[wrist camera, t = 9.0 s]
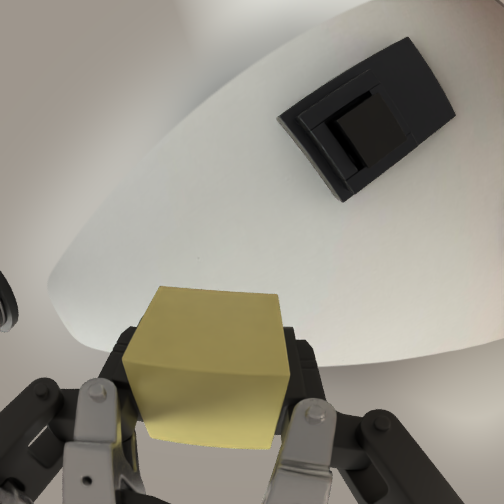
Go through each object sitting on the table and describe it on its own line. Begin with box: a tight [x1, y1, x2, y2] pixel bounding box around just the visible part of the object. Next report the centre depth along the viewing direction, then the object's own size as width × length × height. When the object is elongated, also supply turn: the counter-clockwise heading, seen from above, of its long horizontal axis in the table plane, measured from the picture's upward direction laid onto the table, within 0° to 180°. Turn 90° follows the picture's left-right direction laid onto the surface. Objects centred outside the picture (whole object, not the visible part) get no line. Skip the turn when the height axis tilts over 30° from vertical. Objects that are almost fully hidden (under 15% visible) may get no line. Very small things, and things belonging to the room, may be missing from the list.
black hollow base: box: [276, 37, 456, 202], centre depth 17 cm, size 14×8×4 cm, turn 129°
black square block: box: [328, 93, 407, 168], centre depth 16 cm, size 4×4×2 cm
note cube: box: [122, 286, 290, 449], centre depth 9 cm, size 4×4×4 cm
